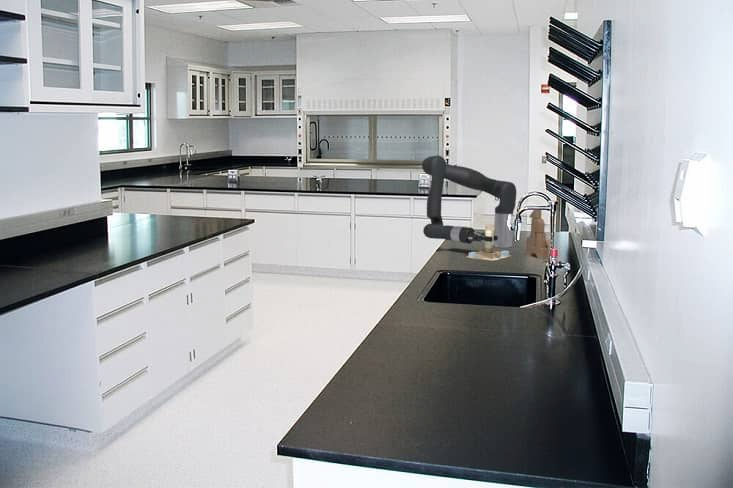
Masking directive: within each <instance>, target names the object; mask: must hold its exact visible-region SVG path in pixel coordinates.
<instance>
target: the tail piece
mask: <svg viewBox="0 0 733 488" xmlns="http://www.w3.org/2000/svg"><path fill="white" fill-rule="evenodd" d="M477 252H478V251H471V252H468V256H469V257H471V258H470V259H476V258H475V257H477ZM469 257H468V258H469Z"/></svg>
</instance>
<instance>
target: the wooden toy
mask: <svg viewBox="0 0 733 488" xmlns="http://www.w3.org/2000/svg"><path fill="white" fill-rule="evenodd" d="M529 218H530V220H531V221H530V222H531V223H530V225H531V226H530V235H529V236H528V237H526V239H525V240H526V242H525V243H526V244H525V255H526V256H528V257H537V259H538V260H542V261H543V260H544V261H543V263H548V262H547V261H548V260H549V259H548V254H549V249H550V240H551V239H547V238H546V237H547V233H545V228H546V225H545V224H546V223H545V221H544V219H543V218H542V210H534V209H533V210H532V212H531V213H530V215H529Z"/></svg>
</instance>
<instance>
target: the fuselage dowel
mask: <svg viewBox="0 0 733 488" xmlns="http://www.w3.org/2000/svg"><path fill="white" fill-rule="evenodd" d="M484 228H485V229H484V233H485V236H489V237H493V240H492V242H489V241H485V240H484V245H483V247H484V249H483V250H484V253H493V251H494V246H493V243H494V224H485V227H484Z"/></svg>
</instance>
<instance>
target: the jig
mask: <svg viewBox="0 0 733 488" xmlns="http://www.w3.org/2000/svg"><path fill="white" fill-rule="evenodd" d="M476 252H477V257H475V258H474V259H477V260H483V261H489V262H494V261H498V260H501V259H505V258H509V257H511V255H510V254H509V256H506V257H501V251H497V250H496V251H495V250H493V253H484V249H483V250H480V251H476ZM466 258H470V259H472V258H471V257H469V255H468V256H466Z"/></svg>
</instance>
